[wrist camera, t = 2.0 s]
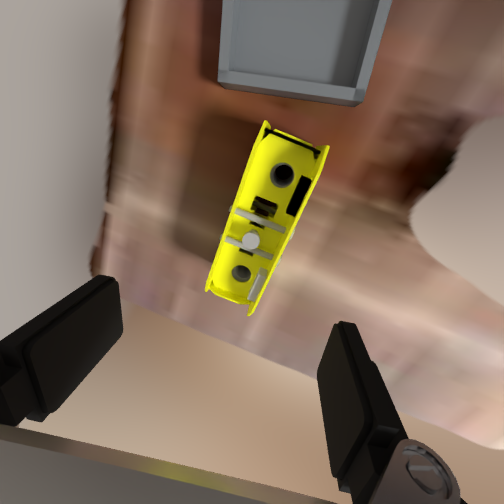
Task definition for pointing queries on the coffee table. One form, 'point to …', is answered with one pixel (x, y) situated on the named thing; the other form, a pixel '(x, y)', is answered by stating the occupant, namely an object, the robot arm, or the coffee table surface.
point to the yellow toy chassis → (259, 226)
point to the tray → (301, 47)
